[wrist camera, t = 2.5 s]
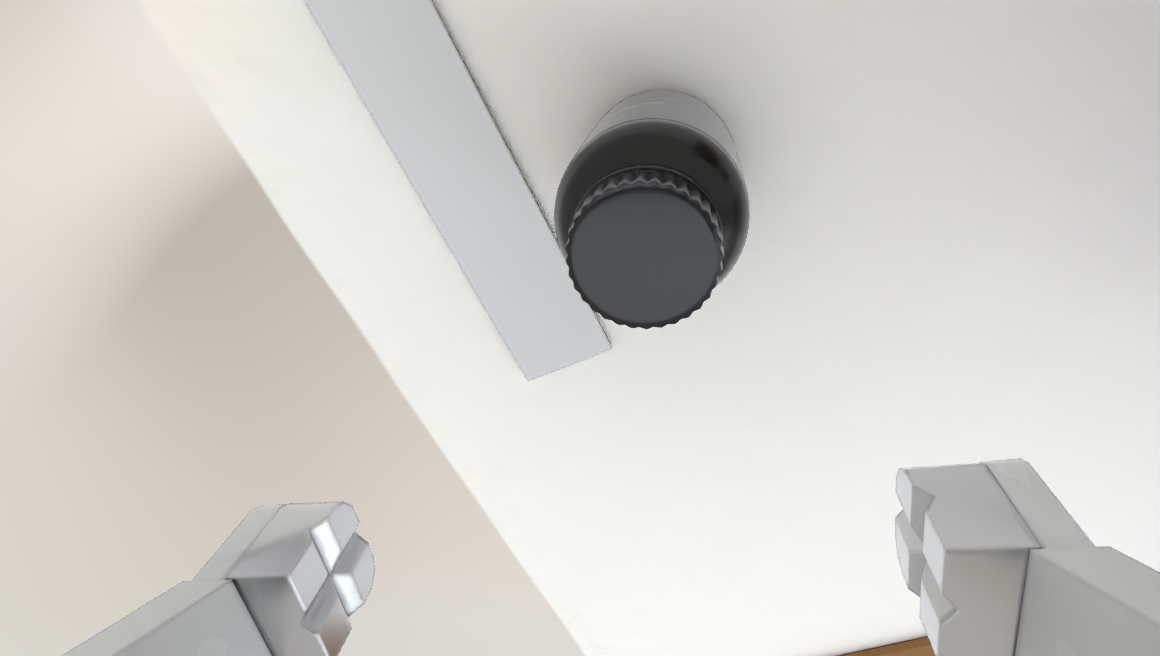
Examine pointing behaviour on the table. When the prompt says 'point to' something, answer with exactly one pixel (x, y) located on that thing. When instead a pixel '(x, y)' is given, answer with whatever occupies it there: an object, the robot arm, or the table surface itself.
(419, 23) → the nameplate
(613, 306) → the supplement bottle
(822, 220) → the table surface
